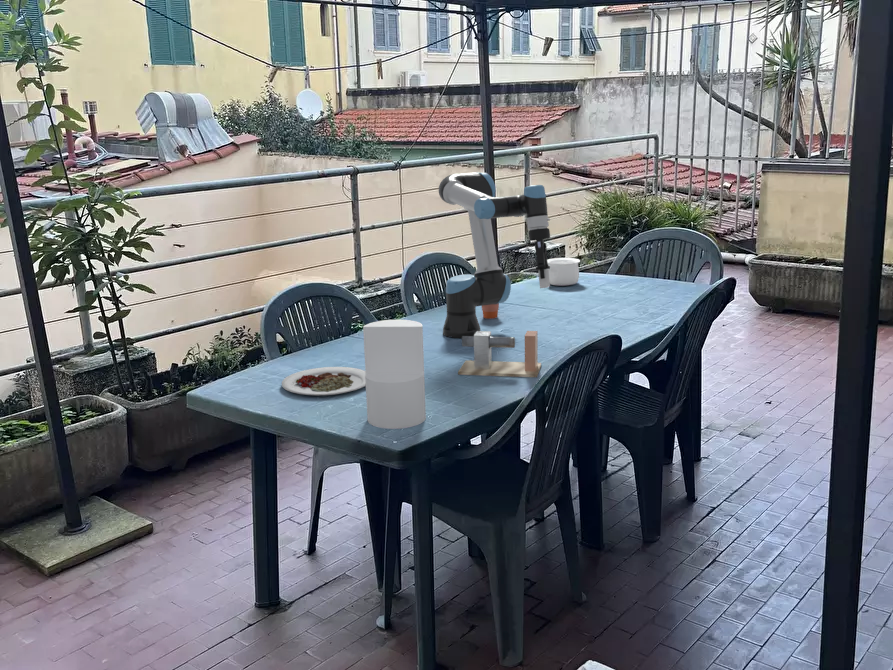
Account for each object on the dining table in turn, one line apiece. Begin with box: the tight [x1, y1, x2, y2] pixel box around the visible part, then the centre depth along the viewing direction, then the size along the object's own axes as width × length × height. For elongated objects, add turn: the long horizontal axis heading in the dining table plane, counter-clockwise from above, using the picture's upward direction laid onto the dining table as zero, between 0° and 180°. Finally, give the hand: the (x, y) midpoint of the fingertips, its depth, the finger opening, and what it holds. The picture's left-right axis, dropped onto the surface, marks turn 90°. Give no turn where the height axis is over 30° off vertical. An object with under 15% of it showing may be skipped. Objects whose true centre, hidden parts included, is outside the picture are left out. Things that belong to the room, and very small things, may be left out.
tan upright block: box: [524, 330, 539, 371], centre depth 297 cm, size 4×7×12 cm, turn 168°
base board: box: [457, 359, 542, 378], centre depth 301 cm, size 27×14×1 cm, turn 78°
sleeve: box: [473, 330, 493, 369], centre depth 301 cm, size 5×6×12 cm
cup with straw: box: [481, 303, 500, 320], centre depth 375 cm, size 9×9×18 cm
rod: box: [461, 336, 516, 349], centre depth 299 cm, size 18×4×4 cm, turn 78°
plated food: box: [281, 366, 366, 396], centre depth 291 cm, size 30×30×3 cm
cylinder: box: [362, 319, 427, 430], centre depth 253 cm, size 17×17×28 cm
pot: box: [547, 257, 581, 286], centre depth 440 cm, size 22×17×12 cm
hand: (545, 287), depth 313 cm, fingers open, 13 cm apart
